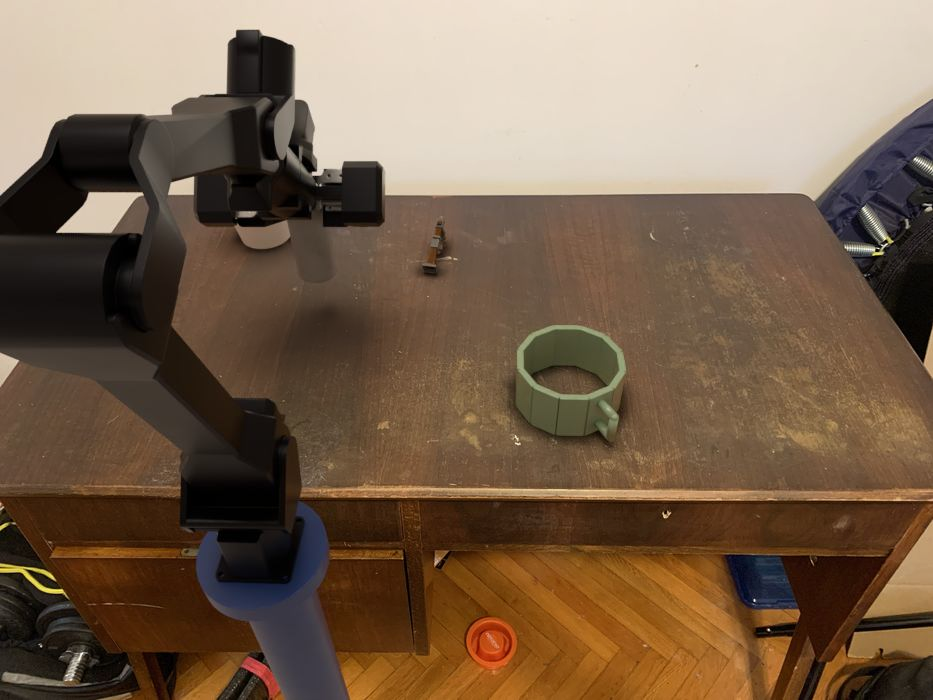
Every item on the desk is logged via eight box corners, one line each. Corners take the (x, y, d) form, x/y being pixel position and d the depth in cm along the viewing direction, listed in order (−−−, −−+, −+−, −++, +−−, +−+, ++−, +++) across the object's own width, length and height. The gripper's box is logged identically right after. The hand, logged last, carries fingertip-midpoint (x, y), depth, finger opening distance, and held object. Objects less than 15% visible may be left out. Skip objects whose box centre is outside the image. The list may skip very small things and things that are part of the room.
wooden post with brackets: (451, 232, 100) (447, 213, 95) (440, 283, 97) (435, 266, 92) (438, 230, 100) (434, 212, 96) (426, 281, 97) (421, 264, 93)
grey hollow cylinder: (313, 257, 87) (299, 180, 80) (345, 266, 85) (333, 189, 78) (290, 277, 84) (273, 199, 77) (322, 288, 82) (308, 209, 75)
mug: (496, 382, 80) (497, 345, 76) (580, 349, 83) (584, 313, 80) (565, 469, 71) (570, 433, 67) (655, 429, 74) (664, 392, 71)
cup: (209, 230, 102) (185, 150, 94) (285, 203, 107) (269, 124, 99) (244, 270, 95) (221, 187, 87) (324, 239, 100) (310, 157, 92)
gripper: (373, 84, 65) (394, 142, 81) (168, 85, 66) (229, 142, 81) (372, 206, 65) (393, 241, 80) (166, 207, 65) (227, 241, 81)
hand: (310, 213), depth 81 cm, fingers closed on grey hollow cylinder, 4 cm apart
